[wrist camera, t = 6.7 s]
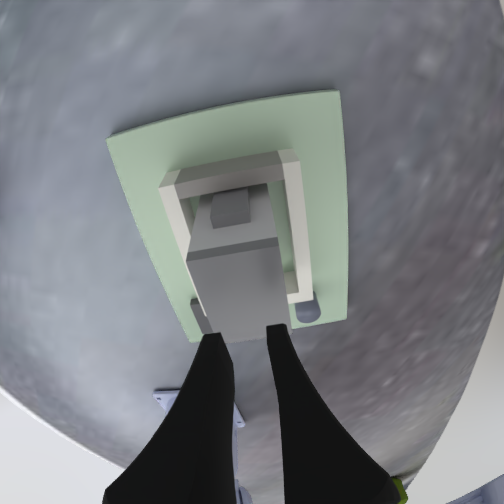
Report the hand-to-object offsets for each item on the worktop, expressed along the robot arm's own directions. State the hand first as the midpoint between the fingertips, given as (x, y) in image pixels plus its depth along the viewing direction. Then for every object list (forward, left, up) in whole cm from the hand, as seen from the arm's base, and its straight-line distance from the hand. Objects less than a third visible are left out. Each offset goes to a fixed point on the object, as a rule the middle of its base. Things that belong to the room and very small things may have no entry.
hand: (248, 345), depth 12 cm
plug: (0, 0, -8) cm, 8 cm away
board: (-1, 0, -9) cm, 9 cm away
